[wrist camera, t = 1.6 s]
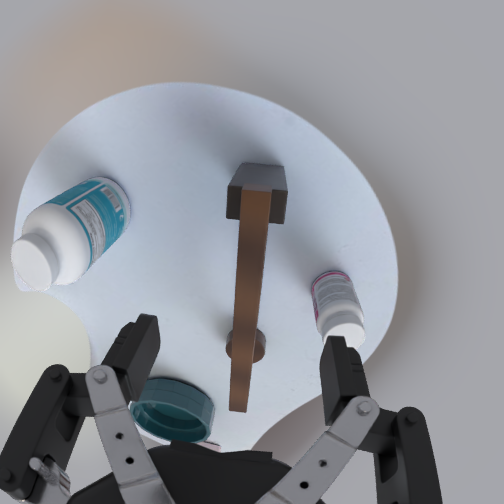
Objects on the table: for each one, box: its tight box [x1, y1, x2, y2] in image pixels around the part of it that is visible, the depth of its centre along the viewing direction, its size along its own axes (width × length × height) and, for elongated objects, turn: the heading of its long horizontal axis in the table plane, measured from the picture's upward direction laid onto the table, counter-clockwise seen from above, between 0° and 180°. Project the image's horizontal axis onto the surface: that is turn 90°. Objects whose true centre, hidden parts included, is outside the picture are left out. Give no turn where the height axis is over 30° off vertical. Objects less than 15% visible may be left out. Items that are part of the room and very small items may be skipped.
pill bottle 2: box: [312, 271, 365, 350], centre depth 30 cm, size 5×5×8 cm
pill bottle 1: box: [11, 177, 130, 291], centre depth 25 cm, size 8×7×14 cm
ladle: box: [226, 183, 272, 413], centre depth 28 cm, size 24×5×11 cm, turn 176°
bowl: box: [129, 378, 215, 443], centre depth 43 cm, size 13×13×5 cm
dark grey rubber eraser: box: [226, 163, 288, 224], centre depth 24 cm, size 2×4×9 cm, turn 85°
